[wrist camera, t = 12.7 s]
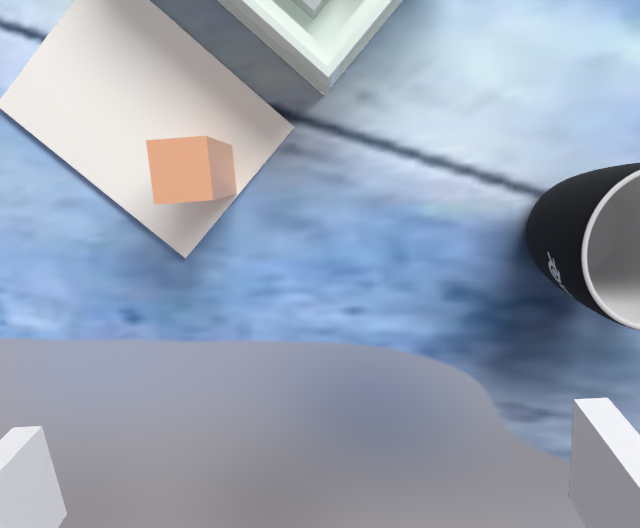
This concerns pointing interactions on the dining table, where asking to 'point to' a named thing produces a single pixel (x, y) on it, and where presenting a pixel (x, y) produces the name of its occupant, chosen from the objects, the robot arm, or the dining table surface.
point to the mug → (592, 240)
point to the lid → (145, 116)
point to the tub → (314, 32)
